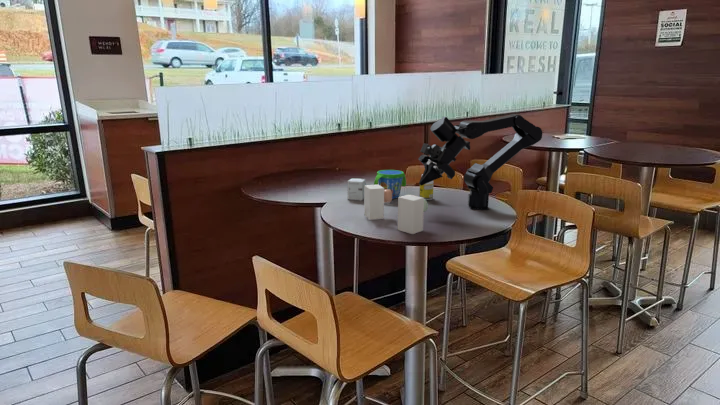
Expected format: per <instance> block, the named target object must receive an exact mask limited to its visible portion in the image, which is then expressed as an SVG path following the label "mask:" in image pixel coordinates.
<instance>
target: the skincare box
mask: <svg viewBox="0 0 720 405" xmlns="http://www.w3.org/2000/svg"><path fill="white" fill-rule="evenodd" d="M364 185H367V179H366V178H350V179H349V180H347V200H352V201H363V200H364Z"/></svg>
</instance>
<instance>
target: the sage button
mask: <svg viewBox="0 0 720 405" xmlns="http://www.w3.org/2000/svg"><path fill="white" fill-rule="evenodd" d="M428 209H429V205H428V200H425V199H424V212H423V213H425V212H427V210H428Z"/></svg>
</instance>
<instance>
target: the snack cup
mask: <svg viewBox="0 0 720 405" xmlns="http://www.w3.org/2000/svg"><path fill="white" fill-rule="evenodd" d="M377 184H378V185H380V186H382V187H383V188H384V190H386V189H390V190H391V192H392V200H393V199H398V197H401V196H400V195H401V189H402V187H406V186H407V177H406V174H405V173H404V171H402V170H396V169H380V170H378V171H377V172H376V176H375V179H374V181H373V185H377Z"/></svg>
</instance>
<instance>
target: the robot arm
mask: <svg viewBox="0 0 720 405" xmlns="http://www.w3.org/2000/svg"><path fill="white" fill-rule="evenodd" d="M509 128H512V129H513V131H514V132H515V133H514V136H513V139H512V140H510V142H508V143H507V144H506V145H505V146H504V147H502V148H501V149H500V150H498V151H497V152H496V153H495V154H494V155H493V156H491V157H490V158H489V159H488V160H486V162H484V163H482V164H480V163H476V162H474V164H473V165H471V167H470V168H467V169H466V172H465V173H464V175H463V176H464V178H463V180H464V183H465V184H466V186H467V189H468V190H469V193H468V195H467V205H468V207H469V209H470V210H490V207H489V200H490V199H489V198H490V197H489V195H490V194H492V192H493V189H494V187H493V185H492V184H491V183H490V181H491V179H492V176H493V174H494V173H495V172H497V171H498V170H499V169H500V168H502V167H503V166H504V165H505V164H507V162H508V161H510V160H512V159H513V157H515V156H516V155H517V154H519V153H520V152H521V151H522V150H523V149H526V148H529V147H531V146H534V145H535V144H538V143H539V142H540V141H541V140H542V138H543V129H542V128H541V127H540V126H536V125H535V124H533V123H532V122H530V121H529V120H527V119H526V118H525V117H523V116H522V115H521V114H517V113H516V114H515V113H511V114H508V115H504V116H499V117H494V118H490V119H485V120H463V121H461V122H459V123H458V124H455V125H454V124H453V123H452V122H451V121H450V119H449V118H448V116H443V117H441V118H440V119H438V120H436V121H435V122H434V123H432V125H431V127H430V128H429V129H430V131H431V132H432V134H433V135H434V136H435V137H437V138H438V140H439V141H440V142H443V143H445V144H443V145H442V146H440V145H437V144H432V145H430V144H428V143H423V144H422V146H421V149H420V151H419V152H420V153H422V154H420V156H419V157H418V158H417V159H418V161H419V162H420V163H422V165H423V166H424V170H423V173H422V174H423V175H422V174H421V177H420V180H419V182H418V185H419V186H420V185H421V186H422V185H424V184H426V183H429V182H431V181H433V182H434V181H435V180H438V179H440V178H441V179H442V178H443V174H444V173H445V175H446V177H447V178H448V179H449V180H452V179H453V178H454V177H456V171H455V170H454V169H453V167H452V166H451V165H450V164H451V163H452V162H456V160H457V158H456V157H457V156H458V155H459V154H460V152H461V151H462V150H463V149H465V150H468V151H470V150H471V142H470V141H467V140H466V139H468V140H474V139H478V138H480V137H482V136H483V135H485V134H487V133H490V132H493V131H499V130H504V129H509ZM464 138H466V139H464Z"/></svg>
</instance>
